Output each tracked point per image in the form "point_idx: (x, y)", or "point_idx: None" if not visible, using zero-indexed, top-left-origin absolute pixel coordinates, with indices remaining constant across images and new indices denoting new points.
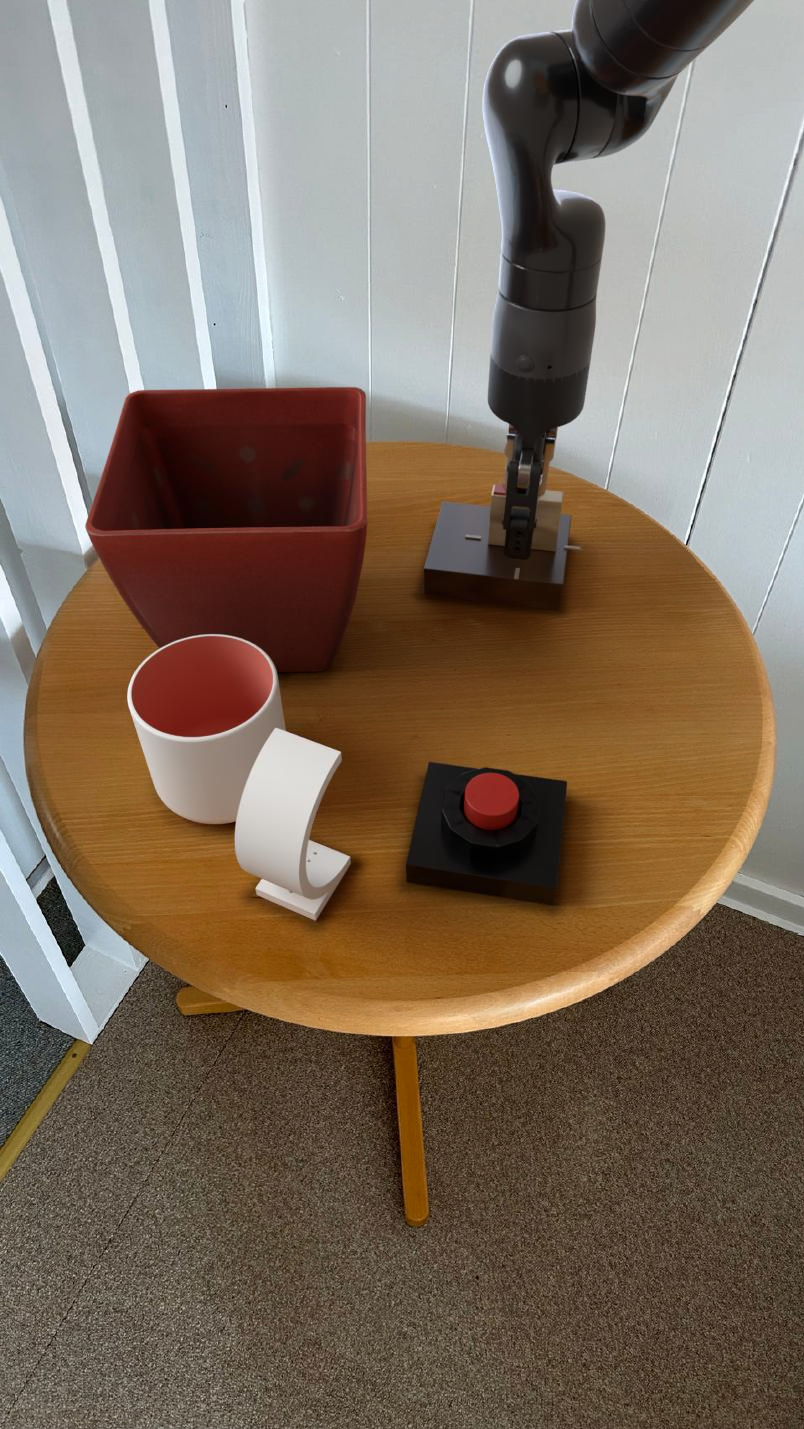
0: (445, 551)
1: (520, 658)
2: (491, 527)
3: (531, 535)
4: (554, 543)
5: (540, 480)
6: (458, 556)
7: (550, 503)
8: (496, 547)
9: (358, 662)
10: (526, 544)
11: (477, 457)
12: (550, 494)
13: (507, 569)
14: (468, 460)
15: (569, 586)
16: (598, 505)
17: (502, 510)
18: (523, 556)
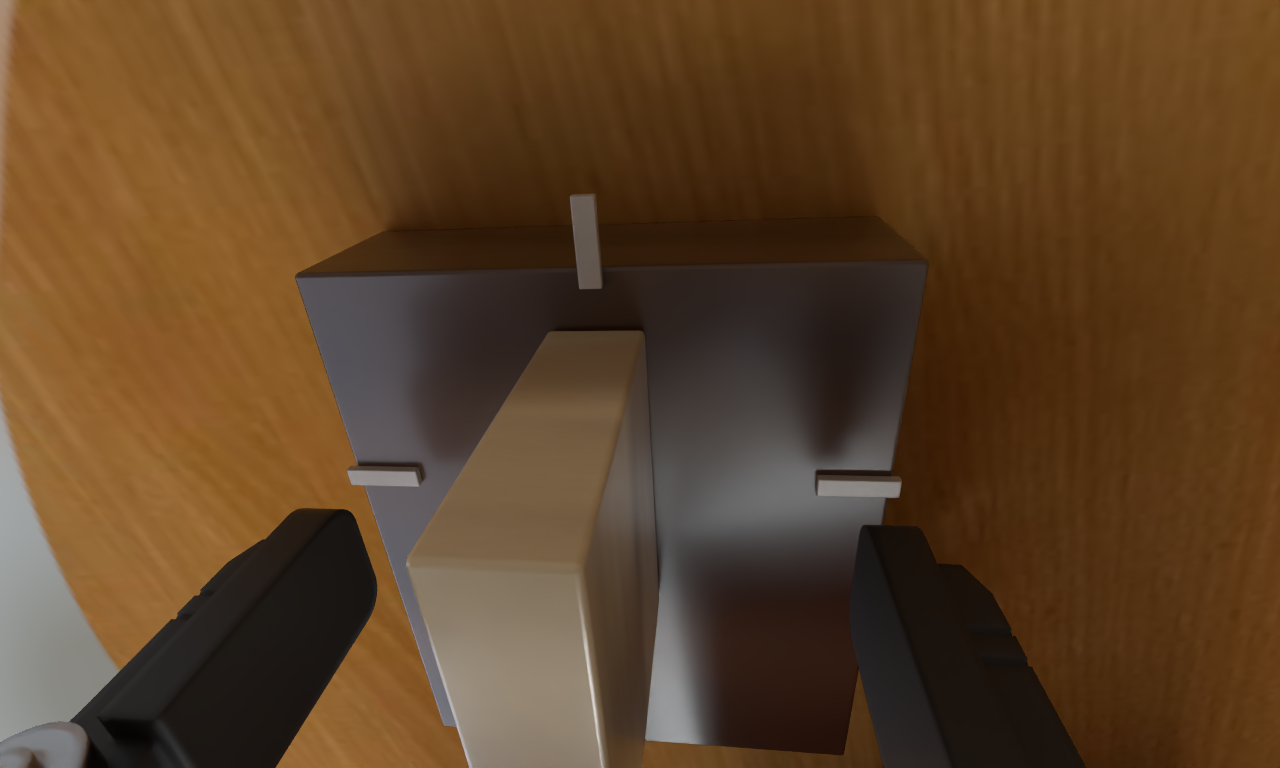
0: (734, 711)
1: (1200, 342)
2: (651, 673)
3: (987, 681)
4: (639, 364)
5: (256, 612)
6: (758, 677)
7: (595, 628)
8: (670, 569)
9: (1137, 753)
10: (972, 638)
11: (93, 570)
12: (488, 649)
13: (820, 521)
14: (125, 590)
15: (692, 187)
16: (62, 114)
17: (636, 753)
18: (971, 583)
